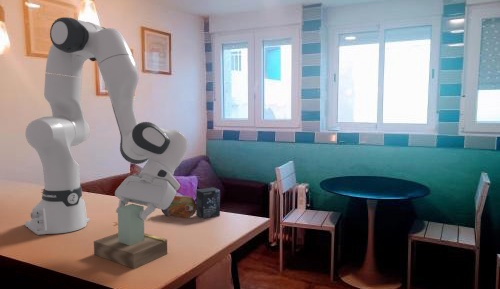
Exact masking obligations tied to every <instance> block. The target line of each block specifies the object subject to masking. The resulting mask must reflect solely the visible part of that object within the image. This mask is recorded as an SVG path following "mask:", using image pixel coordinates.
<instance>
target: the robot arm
mask: <svg viewBox="0 0 500 289" xmlns="http://www.w3.org/2000/svg"><path fill="white" fill-rule="evenodd" d="M49 38H50V41H51V43H52V44H51V45H50V47H49V49H48V50H49V51H48V54H47V59H46V65H45V72H44V73H45V74H44V76H45V77H44V89H43V90H44V91H43V92H44V93H43V94H44V98H45V100H46V101H47V102H48V103H49V106H50V110H51V113H52V116H42V117H40V118H37V119H35V120H32V121H30V122H29V123H28V124H27V126H26V128H25V139H26V141H27V143H28V144H29V145H30V146H31V148H34V149H35V151H36V152H37V155H38V157H39V159H40V162H41V164H42V170H43V182H44V183H43V185H44V189H43V188H42V191H41V192H40V193H41V195H42V196H41V200H40V201H39V202H38V203H37V204H36V205H35V206H34V207H33V208H32V210H31V212H30V218H31V219H30V220H28V221H26V222H25V223H24V226H25V228H27V227H28V228H27V229H29V230H30V231H32V232H33V233H34V234H36V235H38V236H40V235H46V234H48V235H49V234H52V235H53V234H66V233H71V232H75V231H78V230H82V229H83V228H85V227H86V226H87V224H88V223H89V222H90V217H87V216H88V215H87V210H86V209H87V208H86V203H85V199H83V198H82V196H83V189H82V185H81V179H80V178H81V175H80V172H81V171H80V164H79V163H78V161H76V160H75V159H74V156H73V154H72V151H71V147H77V146H79V144H82V143H83V142H85V141H86V140H87V139H88V138H89V136H90V132H91V128H90V125H89V123H88V122H87V120H86V119H85V116H84V112H83V106H82V84H83V83H82V82H83V68H84V67H83V66H84V63H85V62H86V61H87V60H90V61H91V62H95V61H96V63H97V65H98V66H97V67H98V69H99V71H100V72H99V73H100V75H101V78H102V81H103V82H104V85H105V88H106V91H107V94H108V97H109V99H110V101H111V106H112V110H113V113H114V117H115V121H116V124H117V126H118V130H119V135H120V141H119V142H120V144H119V152H120V154H121V156H122V158H123V159H124V160H125V161H127V162H128V163H131V164H133V165H134V164H135V165H141V164H143V163H145V165H144V166H143V168H142V169H141V170H140V171H139V173H132V175H128V176H127V177H126V178H125V179H124V180H123V181H122V182H121V183H120V185H119V186H118V187H117V188H116V189H115V191H114V196H115V197H116V198H117V199H118V207H122V206H126V205H129V204H135V205H139V206H144V207H146V208H145V209H144V211H143V212H142V211H141V212H140V214H139V215H138V218H140V219H141V220H144V221H146V219H147V218H148V216H149V215H151V214H153V213H154V212H155V211H156V209H159V210H161V209H163V210H165V209H166V208H168V207H169V206H170V204H171V202H172V201H173V199H174V197H175V195H177V191H178V190H180V187H181V184H180V183H179V181H178V180H177V179H176V177H174V174H175V170H176V169H177V168H178V167H179V166H180V165H181V163H182V162H183V161H184V158H185V156H186V155H187V152H188V150H189V149H188V148H189V142H188V139H187V138H186V136H185V135H184V134H183V133H181V132H180V131H179V130H176V129H166V128H162V127H160V126H158V125H156V124H155V123H152V122H149V121H142V122H138V119H137V114H136V112H135V107H134V97H135V93H136V89H137V86H138V83H139V78H140V77H139V71H138V70H139V69H138V66H137V63H136V58H134V55H133V52H132V49H131V48H130V46H129V44H128V42H127V40H126V39H125V37H124V36H123V34H122V33H121V32H120V31H119V30H118V29H115V28H111V27H107V28H106V27H103V26H99V25H97V24H95V23H92V22H89V21H84V20H79V19H76V18H72V17H58V18H57V19H56V20H54V21H53V22H52V24H51V27H50V29H49ZM128 203H129V204H128ZM118 207H117V208H116V210H115V213H117V214H118Z"/></svg>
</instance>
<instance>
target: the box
mask: <svg viewBox="0 0 500 289" xmlns="http://www.w3.org/2000/svg"><path fill="white" fill-rule="evenodd" d="M195 193H196V195H195V197H196V198H195V200H196V201H195V202H196V212H195V216H197V217H198V218H200V219H202V220H203V219H208V218H214V217H220V216H221V190H220V189H219V188H217V187H207V188H197V189H196V192H195Z"/></svg>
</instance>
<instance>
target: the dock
mask: <svg viewBox="0 0 500 289" xmlns="http://www.w3.org/2000/svg"><path fill="white" fill-rule="evenodd" d="M93 253H94V254H93V255H95V256H98V257H100V258H103V259H105V260H109V261H111V262H114V263H117V264H120V265H122V266H125V267H128V268H129V269H130V268H131V269H137V268H139V267H141V266H143V265H145V264H148V263H150V262H151V261H152V262H153V261H154V260H157V259H159V258H161V257H163V256H166V255H168V239H167V238H165V237H164V238H163V237H161V236H157V235H152V234H148V233H145V232H144V241H141V242H138V243H136V244H133V245H131V246H130V245H127V244H124V243H120V242H119V238H118V232H117V233H113V234H111V235H107V236H106V237H105V236H104V237H101V238H99V239H97V240H94V241H93Z"/></svg>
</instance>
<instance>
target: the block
mask: <svg viewBox="0 0 500 289" xmlns="http://www.w3.org/2000/svg"><path fill="white" fill-rule="evenodd" d="M117 208H118V213H117V227H118V228H117V229H118V232H117V233H118V238H119V242H120V243H124V244H127V245H130V246H131V245H133V244H136V243H138V242H141V241H144V233H145V220H141V219H140V218H138V215H139V214H140V212H141V211H142V212H143V211H144V210H145V209H144V208H145V206H144V205H140V204H135V203H129V204H127V205H126V204H125V206H122V207H119V206H118V207H117Z"/></svg>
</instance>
